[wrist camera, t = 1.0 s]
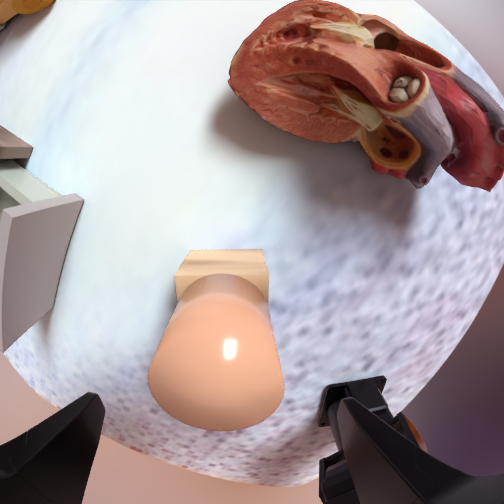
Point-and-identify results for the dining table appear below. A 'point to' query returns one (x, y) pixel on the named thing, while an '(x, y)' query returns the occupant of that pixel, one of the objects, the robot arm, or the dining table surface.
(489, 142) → the anatomical model
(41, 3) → the toy cannon
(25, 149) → the housing
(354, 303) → the dining table surface
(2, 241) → the drawer
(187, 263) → the block
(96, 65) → the dining table surface
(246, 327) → the tan rounded cylinder
